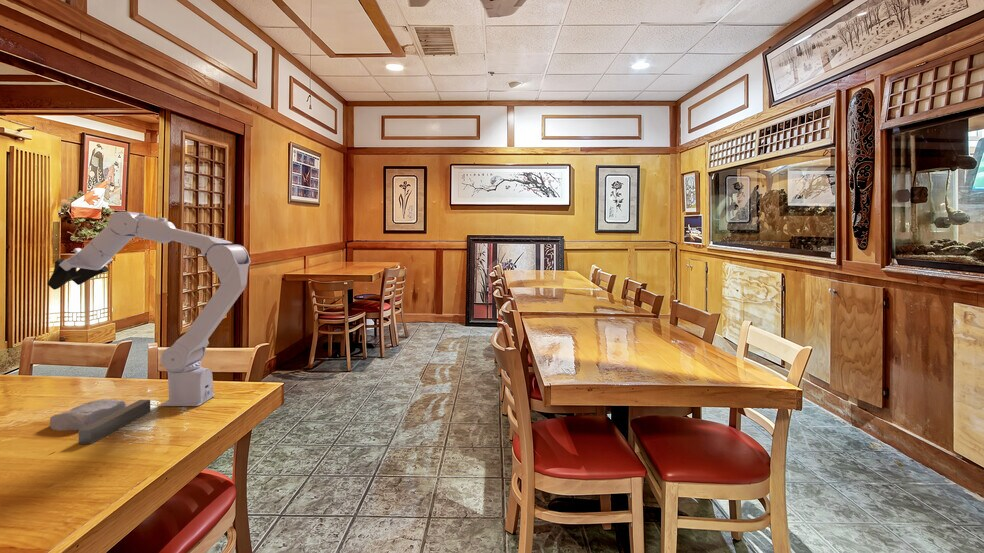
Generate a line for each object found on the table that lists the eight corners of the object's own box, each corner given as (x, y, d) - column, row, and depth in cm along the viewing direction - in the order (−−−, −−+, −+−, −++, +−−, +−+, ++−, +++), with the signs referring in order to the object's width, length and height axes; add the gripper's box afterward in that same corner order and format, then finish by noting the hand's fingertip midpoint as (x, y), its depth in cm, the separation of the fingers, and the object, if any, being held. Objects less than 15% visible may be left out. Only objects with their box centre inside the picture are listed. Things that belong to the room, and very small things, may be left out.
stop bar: (150, 411, 113) (150, 399, 112) (91, 444, 95) (90, 430, 95) (140, 411, 113) (139, 399, 112) (79, 444, 95) (78, 430, 94)
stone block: (45, 438, 101) (87, 431, 101) (40, 418, 101) (82, 410, 101) (93, 419, 113) (131, 412, 113) (88, 400, 113) (127, 393, 113)
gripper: (110, 234, 121) (72, 269, 121) (67, 237, 107) (25, 276, 107) (131, 254, 123) (94, 288, 123) (92, 259, 109) (50, 298, 109)
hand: (63, 284), depth 115 cm, fingers open, 7 cm apart
